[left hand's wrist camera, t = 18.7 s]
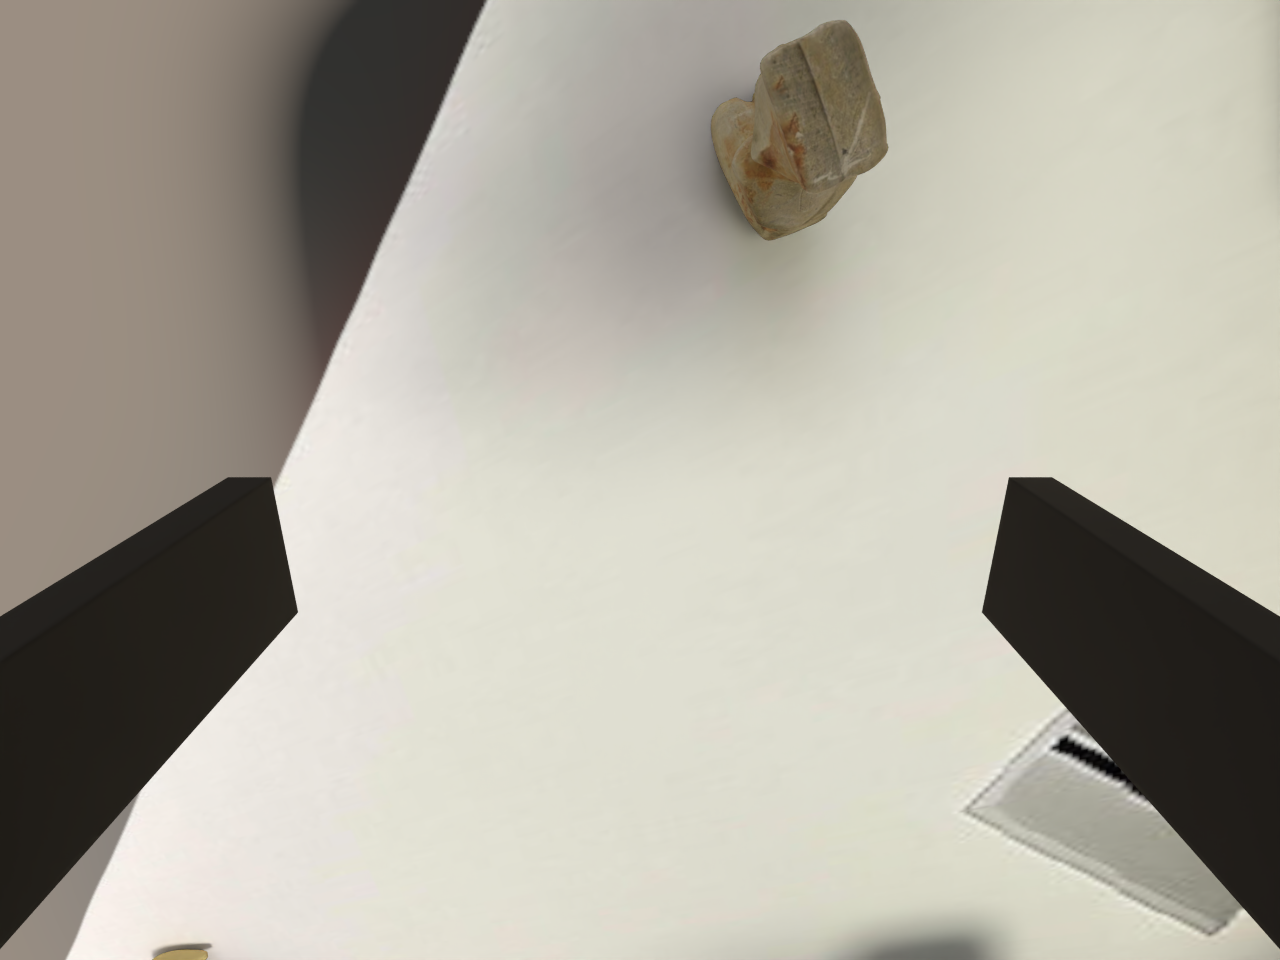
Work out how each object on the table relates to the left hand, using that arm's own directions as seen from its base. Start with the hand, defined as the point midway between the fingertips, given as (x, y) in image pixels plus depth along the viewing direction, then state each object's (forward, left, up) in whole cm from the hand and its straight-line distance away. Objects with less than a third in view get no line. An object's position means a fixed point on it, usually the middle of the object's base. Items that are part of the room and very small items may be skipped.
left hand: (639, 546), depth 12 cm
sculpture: (-11, +2, -30) cm, 32 cm away
